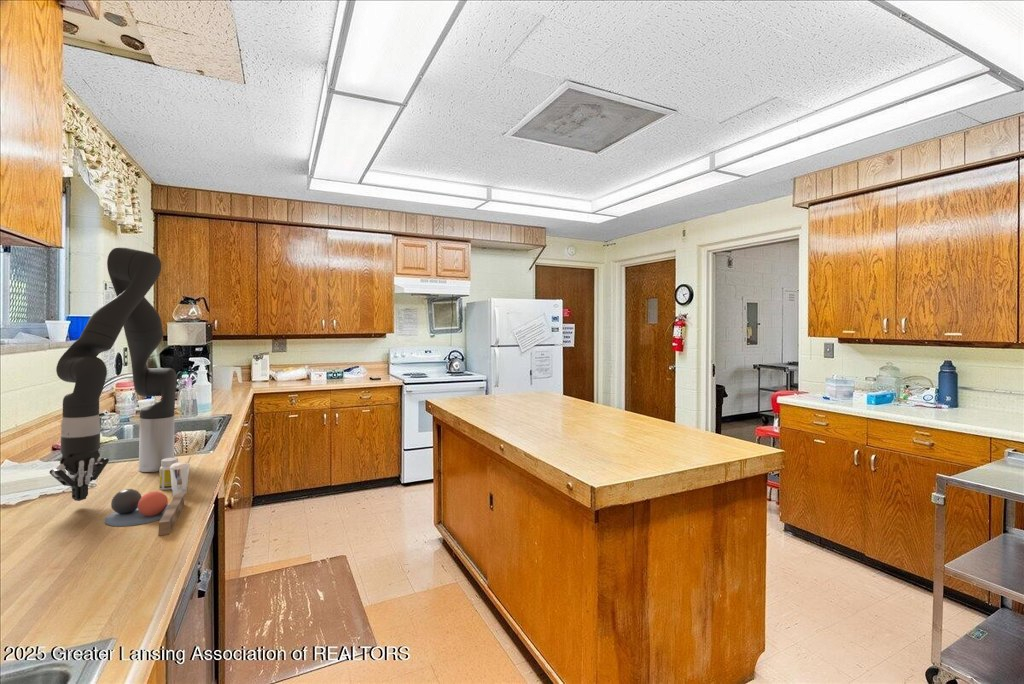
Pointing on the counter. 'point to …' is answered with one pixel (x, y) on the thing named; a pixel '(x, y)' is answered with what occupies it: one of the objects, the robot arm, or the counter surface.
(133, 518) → the blue-grey flat disc
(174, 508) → the stopper rail
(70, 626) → the counter surface
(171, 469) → the milkshake
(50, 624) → the counter surface
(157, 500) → the red ball
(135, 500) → the dark gray ball
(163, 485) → the supplement bottle
